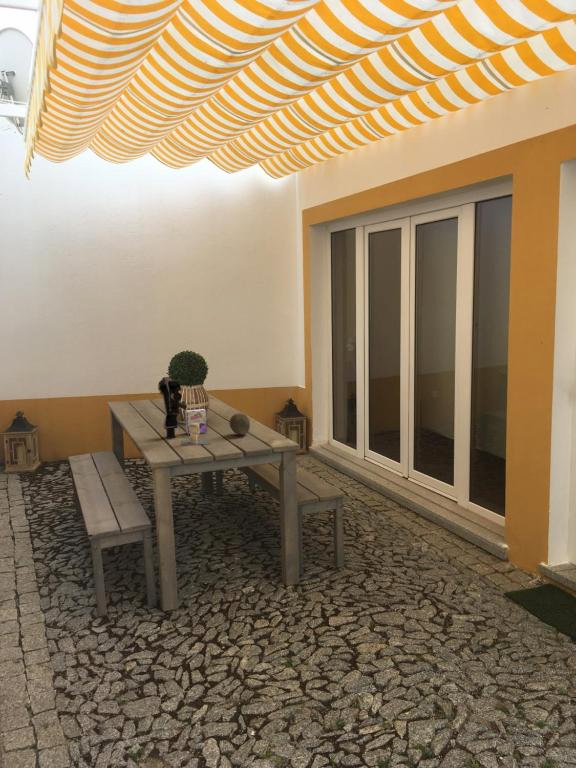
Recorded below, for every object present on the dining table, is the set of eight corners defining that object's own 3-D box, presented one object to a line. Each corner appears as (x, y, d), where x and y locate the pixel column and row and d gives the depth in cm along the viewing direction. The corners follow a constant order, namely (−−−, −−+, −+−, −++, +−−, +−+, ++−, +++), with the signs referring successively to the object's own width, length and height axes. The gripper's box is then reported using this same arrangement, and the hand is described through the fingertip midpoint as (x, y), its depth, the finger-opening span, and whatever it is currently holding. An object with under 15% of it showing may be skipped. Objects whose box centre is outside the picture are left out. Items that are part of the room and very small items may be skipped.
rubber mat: (181, 441, 429) (181, 440, 429) (208, 439, 432) (208, 438, 432) (182, 445, 415) (182, 445, 415) (210, 444, 419) (210, 443, 419)
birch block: (194, 441, 427) (193, 423, 425) (199, 441, 425) (199, 423, 423) (190, 442, 422) (189, 424, 421) (196, 443, 421) (195, 425, 419)
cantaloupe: (250, 432, 451) (249, 411, 448) (250, 436, 437) (249, 415, 435) (230, 433, 450) (229, 412, 448) (229, 437, 436) (228, 416, 434)
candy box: (187, 434, 447) (186, 411, 445) (185, 433, 452) (184, 410, 450) (207, 432, 452) (206, 409, 450) (205, 431, 457) (204, 408, 455)
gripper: (186, 400, 417) (187, 424, 420) (185, 396, 435) (186, 418, 438) (169, 401, 415) (170, 425, 417) (168, 397, 433) (169, 419, 436)
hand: (174, 422), depth 427 cm, fingers open, 9 cm apart
